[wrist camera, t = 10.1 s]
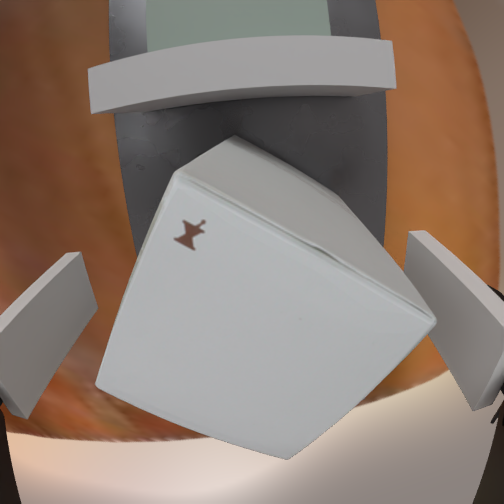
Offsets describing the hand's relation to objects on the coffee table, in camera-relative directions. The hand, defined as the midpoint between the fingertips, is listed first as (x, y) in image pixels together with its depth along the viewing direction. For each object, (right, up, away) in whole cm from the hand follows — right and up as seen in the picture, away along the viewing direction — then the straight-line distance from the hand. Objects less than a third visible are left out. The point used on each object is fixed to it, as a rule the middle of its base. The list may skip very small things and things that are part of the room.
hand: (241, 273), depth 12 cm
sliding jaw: (0, +12, +3) cm, 13 cm away
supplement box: (+1, +3, +7) cm, 8 cm away
